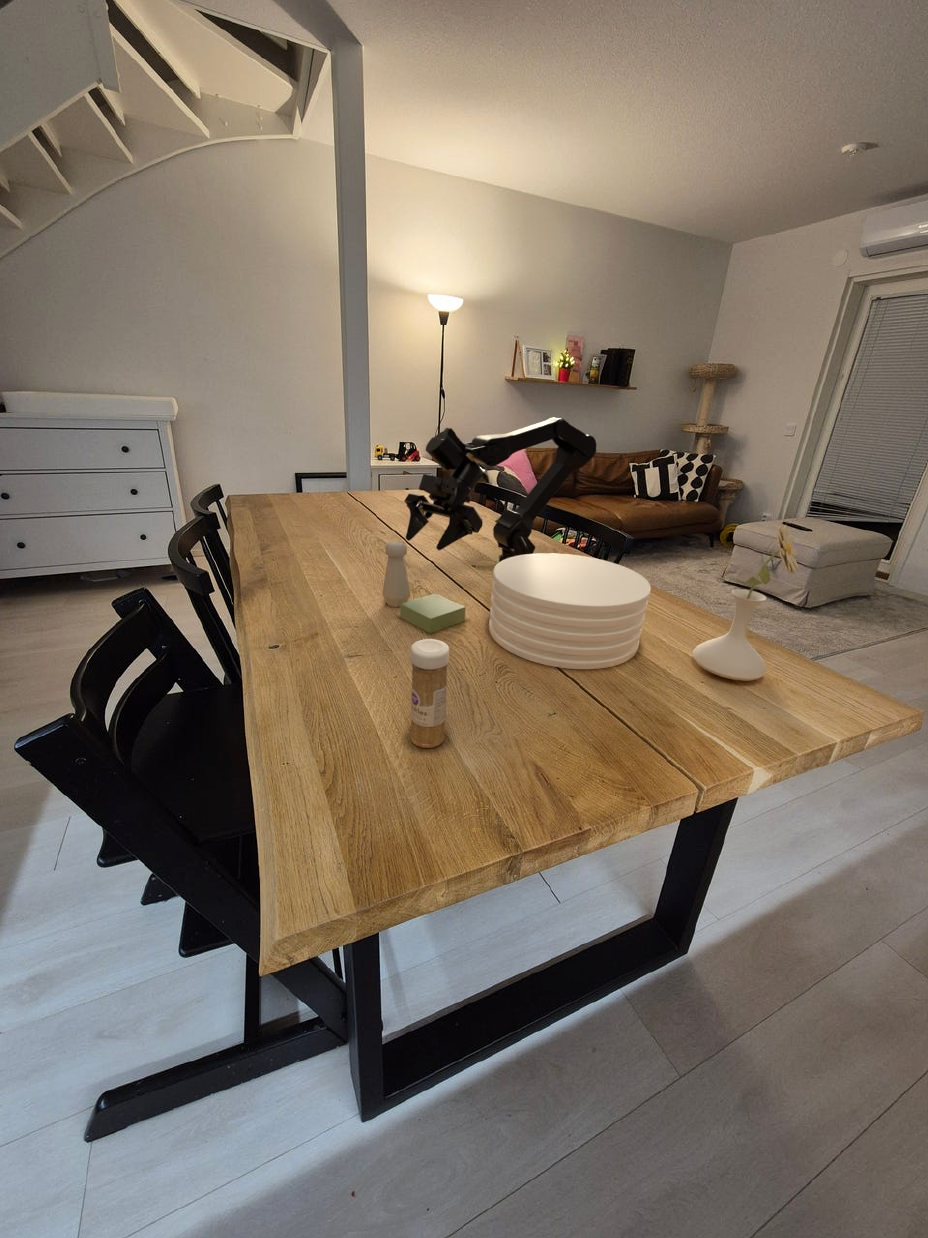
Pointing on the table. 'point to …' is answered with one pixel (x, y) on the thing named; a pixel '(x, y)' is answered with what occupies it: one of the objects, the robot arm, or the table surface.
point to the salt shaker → (396, 575)
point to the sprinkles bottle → (428, 692)
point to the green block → (432, 612)
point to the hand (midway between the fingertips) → (422, 544)
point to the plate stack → (567, 610)
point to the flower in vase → (744, 625)
